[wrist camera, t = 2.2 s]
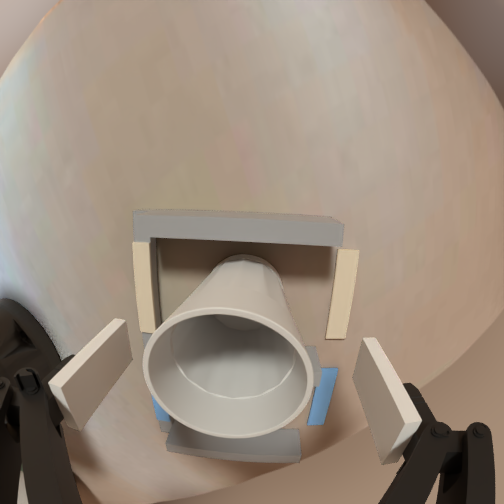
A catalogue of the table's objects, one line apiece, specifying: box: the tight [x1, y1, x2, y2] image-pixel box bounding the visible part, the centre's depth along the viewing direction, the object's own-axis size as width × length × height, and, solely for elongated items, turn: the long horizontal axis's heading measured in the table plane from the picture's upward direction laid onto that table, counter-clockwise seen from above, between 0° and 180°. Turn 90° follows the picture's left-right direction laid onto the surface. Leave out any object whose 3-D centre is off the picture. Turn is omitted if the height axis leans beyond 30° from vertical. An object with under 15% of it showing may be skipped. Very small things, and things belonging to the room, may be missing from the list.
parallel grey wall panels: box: [132, 209, 359, 463], centre depth 23 cm, size 18×24×4 cm
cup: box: [143, 254, 314, 438], centre depth 18 cm, size 8×8×12 cm
